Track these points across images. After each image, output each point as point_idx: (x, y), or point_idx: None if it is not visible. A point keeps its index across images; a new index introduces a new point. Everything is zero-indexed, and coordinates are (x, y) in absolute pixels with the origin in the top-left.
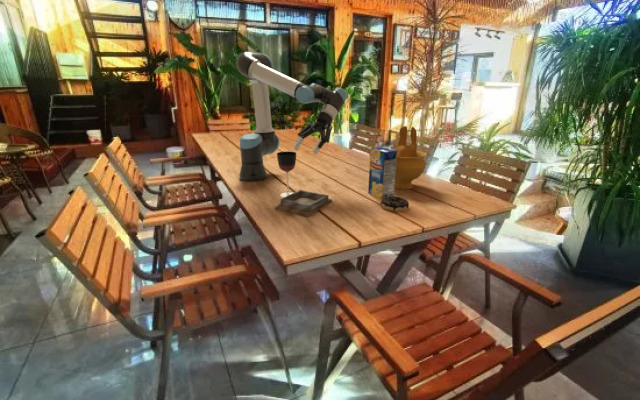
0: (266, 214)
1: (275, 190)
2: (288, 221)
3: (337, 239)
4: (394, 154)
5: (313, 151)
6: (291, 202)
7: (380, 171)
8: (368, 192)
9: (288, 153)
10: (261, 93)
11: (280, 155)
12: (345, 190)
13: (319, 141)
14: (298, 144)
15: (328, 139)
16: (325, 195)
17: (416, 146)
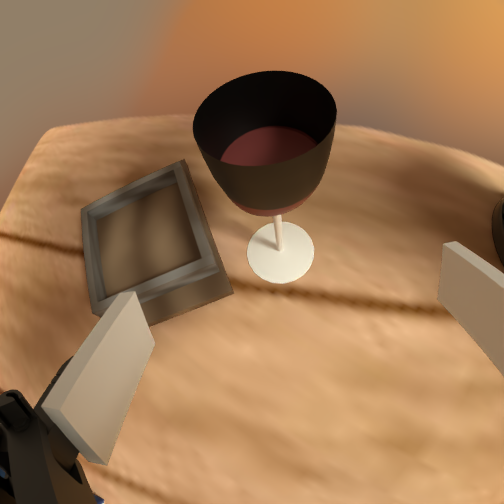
0: (175, 137)
1: (361, 237)
2: (108, 164)
3: (13, 208)
4: None
5: (121, 297)
6: (139, 181)
7: None
8: (101, 499)
9: (321, 152)
10: None
11: (246, 78)
12: (173, 478)
13: (53, 386)
14: (473, 301)
15: (3, 479)
16: (97, 303)
17: None
